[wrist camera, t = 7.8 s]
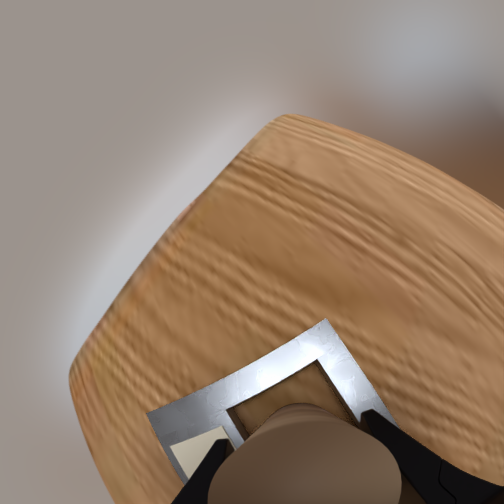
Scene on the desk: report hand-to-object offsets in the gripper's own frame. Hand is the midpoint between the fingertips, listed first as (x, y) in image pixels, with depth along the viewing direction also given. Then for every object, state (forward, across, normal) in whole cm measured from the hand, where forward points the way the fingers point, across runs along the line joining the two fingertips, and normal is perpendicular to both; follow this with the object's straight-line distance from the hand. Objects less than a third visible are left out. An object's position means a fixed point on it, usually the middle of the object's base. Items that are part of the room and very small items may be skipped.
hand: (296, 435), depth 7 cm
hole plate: (+8, +2, +11) cm, 13 cm away
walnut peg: (+4, 0, +6) cm, 7 cm away
